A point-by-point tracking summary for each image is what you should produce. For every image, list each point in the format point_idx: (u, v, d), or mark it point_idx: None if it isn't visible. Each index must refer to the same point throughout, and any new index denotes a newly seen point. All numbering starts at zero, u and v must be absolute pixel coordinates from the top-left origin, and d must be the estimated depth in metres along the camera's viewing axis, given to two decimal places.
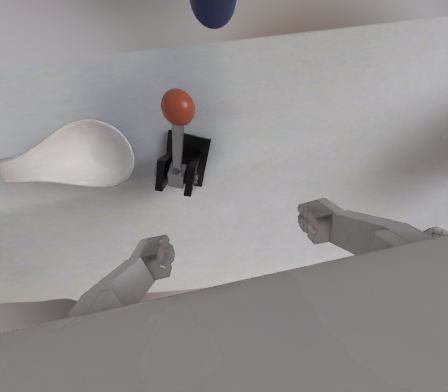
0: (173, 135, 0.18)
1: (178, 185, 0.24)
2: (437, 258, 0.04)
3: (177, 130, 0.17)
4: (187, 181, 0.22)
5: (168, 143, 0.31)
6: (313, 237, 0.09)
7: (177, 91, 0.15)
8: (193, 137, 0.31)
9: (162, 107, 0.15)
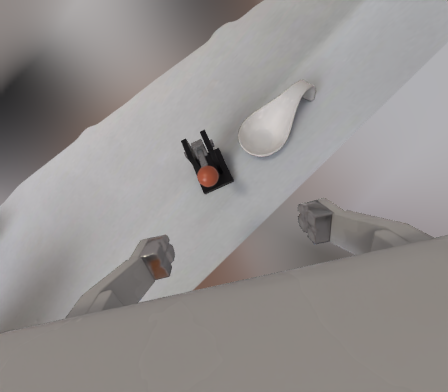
0: (206, 163, 0.26)
1: (194, 143, 0.32)
2: (437, 258, 0.04)
3: (204, 166, 0.26)
4: (188, 148, 0.30)
5: (228, 171, 0.40)
6: (313, 237, 0.09)
7: (210, 181, 0.23)
8: (215, 186, 0.40)
9: (213, 168, 0.24)
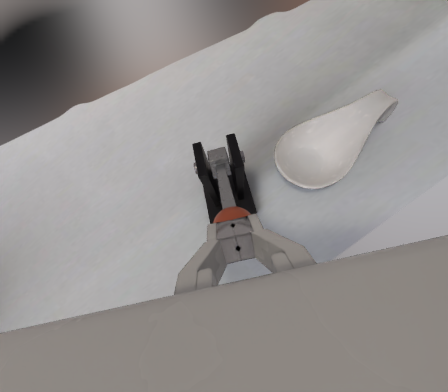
0: (231, 196, 0.14)
1: (212, 151, 0.19)
2: (437, 258, 0.04)
3: (227, 203, 0.13)
4: (202, 158, 0.18)
5: (251, 199, 0.28)
6: (239, 254, 0.09)
7: None
8: None
9: None
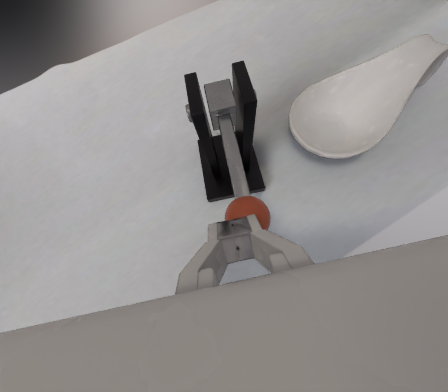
0: (243, 177, 0.12)
1: (212, 88, 0.13)
2: (437, 258, 0.04)
3: (240, 188, 0.12)
4: (197, 92, 0.12)
5: (258, 172, 0.22)
6: (238, 254, 0.09)
7: None
8: (230, 193, 0.22)
9: (267, 215, 0.11)
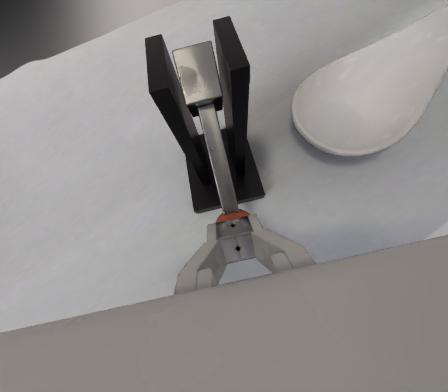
0: (232, 192, 0.11)
1: (186, 59, 0.09)
2: (437, 258, 0.04)
3: (228, 204, 0.11)
4: (160, 59, 0.08)
5: (256, 175, 0.18)
6: (239, 254, 0.09)
7: None
8: None
9: None
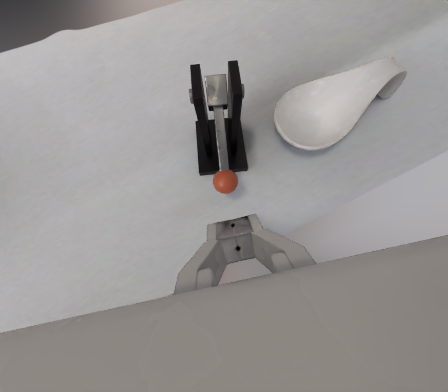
0: (226, 158, 0.20)
1: (211, 81, 0.17)
2: (437, 258, 0.04)
3: (223, 164, 0.20)
4: (198, 80, 0.16)
5: (244, 154, 0.27)
6: (239, 254, 0.09)
7: None
8: (219, 169, 0.26)
9: (235, 183, 0.20)
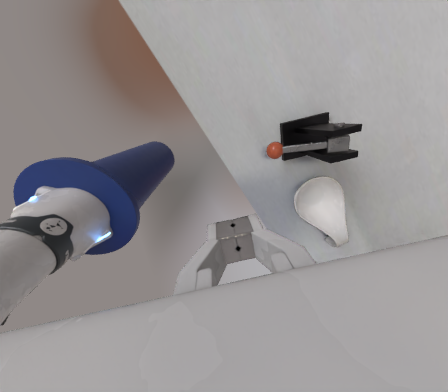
0: (290, 151, 0.30)
1: (344, 141, 0.25)
2: (437, 258, 0.04)
3: (286, 149, 0.30)
4: (346, 133, 0.24)
5: (294, 157, 0.37)
6: (239, 254, 0.09)
7: (266, 151, 0.32)
8: (284, 139, 0.35)
9: (273, 158, 0.31)
